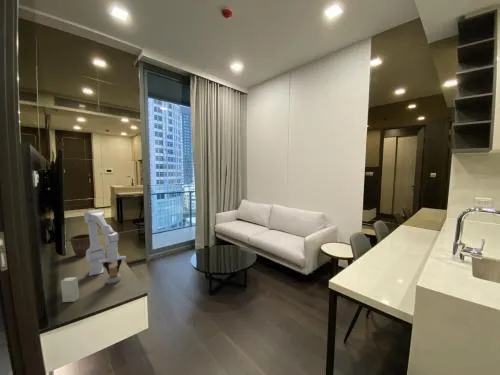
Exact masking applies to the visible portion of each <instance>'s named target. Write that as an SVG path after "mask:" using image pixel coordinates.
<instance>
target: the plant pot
mask: <svg viewBox="0 0 500 375" xmlns="http://www.w3.org/2000/svg"><path fill="white" fill-rule="evenodd" d="M69 240H70V241H69V242H70V245H71V247H72V251H73V252H74V254H75V256H76V257H77V256H78V257H80V256H81V257H86V251H87V250H88V249H89V248H90V247H91V246H90V237H89V233H83V234H77V235H74V236H71V237H69Z"/></svg>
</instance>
